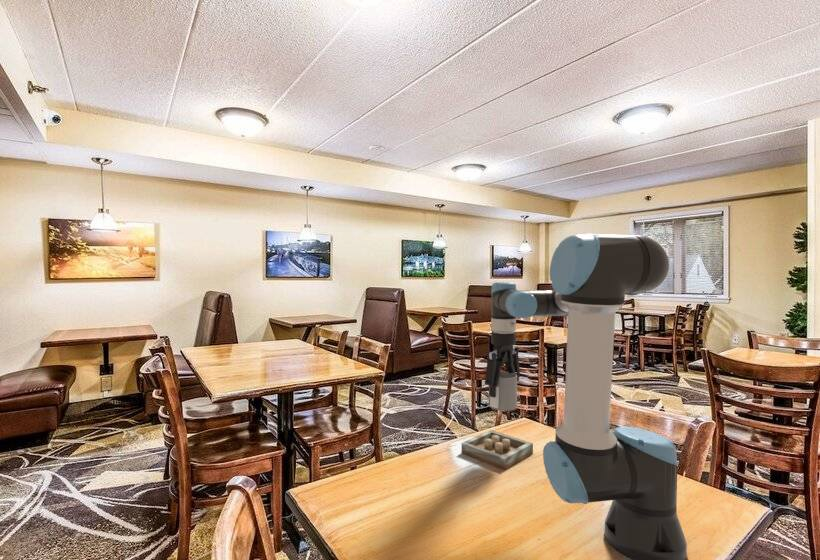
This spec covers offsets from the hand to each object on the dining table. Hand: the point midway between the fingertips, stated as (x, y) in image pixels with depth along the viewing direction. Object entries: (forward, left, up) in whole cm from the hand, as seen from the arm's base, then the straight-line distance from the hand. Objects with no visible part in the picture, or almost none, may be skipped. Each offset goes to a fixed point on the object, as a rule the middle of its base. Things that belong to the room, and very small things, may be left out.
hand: (502, 403), depth 131 cm
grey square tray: (0, +2, -16) cm, 16 cm away
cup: (0, 0, -1) cm, 1 cm away
